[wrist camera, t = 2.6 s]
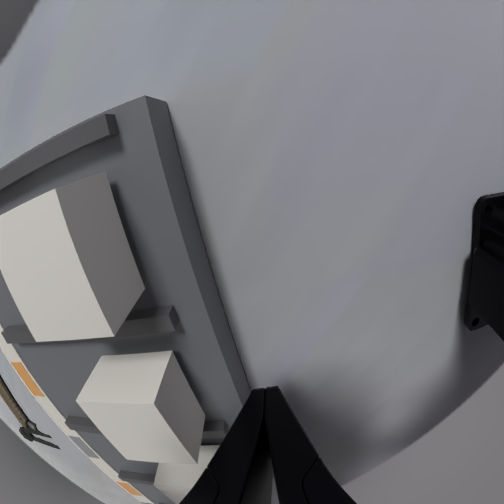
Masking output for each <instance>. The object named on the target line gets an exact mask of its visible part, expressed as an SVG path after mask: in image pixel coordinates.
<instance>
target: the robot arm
mask: <svg viewBox="0 0 504 504" xmlns="http://www.w3.org/2000/svg"><path fill="white" fill-rule="evenodd" d="M486 206H487V210H486V212H485V207H486ZM464 324H465V326H466V327H467V328H468V329H469V330H470V331H472V330H476V329H478V328H481V327H483V326H485V325H488V324H489V325H490V327H491V328H492V329H493V330H494V331H495V332H496V333H497V334H498V335H499V336H500V338H501V339H502V340H503V341H504V192H502V193H496V194H490V195H484V196H482V197H480V198H479V199H478V200H477V203H476V206H475V230H474V248H473V260H472V271H471V279H470V287H469V294H468V301H467V307H466V313H465V318H464ZM273 472H274V477H275V483H276V489H277V494H278V500H279V504H356V502H355V501H354V500H353V499H352V498H351V497H350V496H349V495H348V494H347V493H346V492H345V491H344V490H343V488H342V487H341V486H340V485H339V484H338V482H337V481H336V480H335V479H334V478H333V476H332V475H331V473H330V472H329V470H328V469H327V468H326V466H325V464H324V463H323V461H322V460H321V458H320V457H319V455H318V453H317V452H316V450H315V448H314V447H313V445H312V443H311V442H310V440H309V438H308V437H307V435H306V433H305V432H304V430H303V428H302V427H301V425H300V423H299V421H298V420H297V418H296V416H295V415H294V413H293V411H292V409H291V408H290V406H289V404H288V403H287V401H286V399H285V397H284V396H283V394H282V392H281V390H280V389H279V387H278V386H273V387H267V388H266V389H265V388H259V389H253V390H252V391H251V393H250V395H249V397H248V398H247V400H246V402H245V404H244V405H243V407H242V409H241V411H240V412H239V414H238V416H237V418H236V419H235V421H234V423H233V424H232V426H231V428H230V429H229V431H228V433H227V434H226V436H225V438H224V439H223V441H222V443H221V444H220V446H219V448H218V449H217V451H216V452H215V454H214V456H213V457H212V459H211V461H210V462H209V464H208V465H207V468H205V470H204V471H203V473H202V475H201V476H200V478H199V479H198V480H197V482H196V483H195V485H194V486H193V488H192V489H191V490H190V491H189V492H188V494H187V495H186V496H185V497H184V498H183V500H182V501H181V502H180V503H179V504H271V496H272V481H273Z"/></svg>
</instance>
